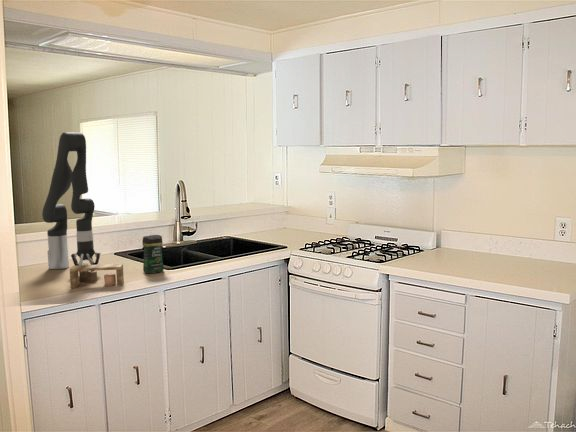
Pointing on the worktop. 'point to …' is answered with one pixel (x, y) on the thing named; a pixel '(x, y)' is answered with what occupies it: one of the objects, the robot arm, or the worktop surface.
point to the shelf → (74, 270)
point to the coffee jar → (152, 254)
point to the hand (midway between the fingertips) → (87, 273)
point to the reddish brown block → (110, 279)
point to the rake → (88, 275)
